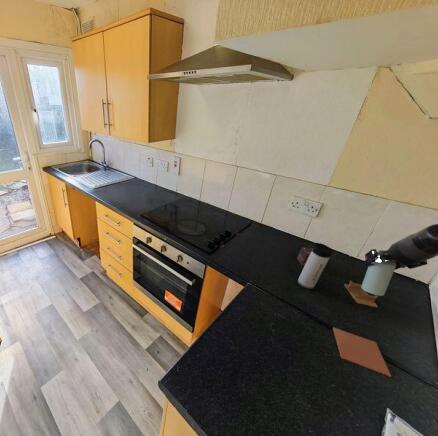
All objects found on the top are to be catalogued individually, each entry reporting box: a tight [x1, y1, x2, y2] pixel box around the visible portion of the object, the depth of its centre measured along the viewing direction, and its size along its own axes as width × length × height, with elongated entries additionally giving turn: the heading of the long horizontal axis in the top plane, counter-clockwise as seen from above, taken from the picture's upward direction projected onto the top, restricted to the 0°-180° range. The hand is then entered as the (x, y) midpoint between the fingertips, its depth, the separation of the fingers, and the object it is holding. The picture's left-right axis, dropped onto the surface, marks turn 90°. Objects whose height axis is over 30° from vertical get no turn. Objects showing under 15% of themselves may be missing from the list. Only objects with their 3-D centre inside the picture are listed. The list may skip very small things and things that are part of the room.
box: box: [296, 246, 313, 267], centre depth 112 cm, size 6×6×7 cm
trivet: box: [332, 326, 392, 378], centre depth 73 cm, size 12×12×1 cm
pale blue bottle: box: [361, 249, 396, 297], centre depth 80 cm, size 16×6×6 cm
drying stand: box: [343, 280, 379, 308], centre depth 95 cm, size 11×7×4 cm, turn 164°
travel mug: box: [297, 242, 333, 290], centre depth 96 cm, size 6×7×20 cm
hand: (378, 265), depth 81 cm, fingers closed on pale blue bottle, 6 cm apart
